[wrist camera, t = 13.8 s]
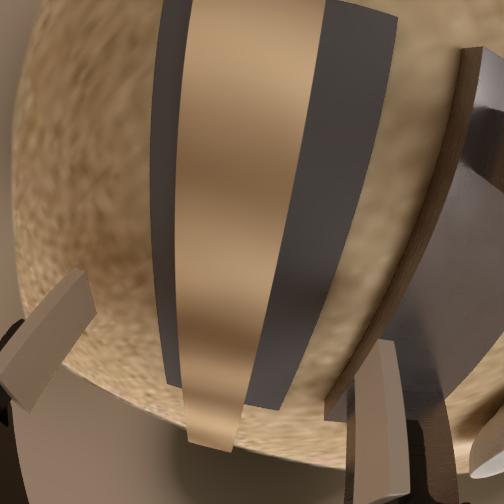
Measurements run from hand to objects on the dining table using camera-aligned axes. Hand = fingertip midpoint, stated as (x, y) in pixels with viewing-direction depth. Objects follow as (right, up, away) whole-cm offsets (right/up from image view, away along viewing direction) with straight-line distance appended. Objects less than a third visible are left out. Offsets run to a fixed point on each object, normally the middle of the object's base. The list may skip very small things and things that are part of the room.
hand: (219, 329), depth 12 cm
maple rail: (+1, +2, +4) cm, 5 cm away
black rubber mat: (+1, +3, +4) cm, 5 cm away
